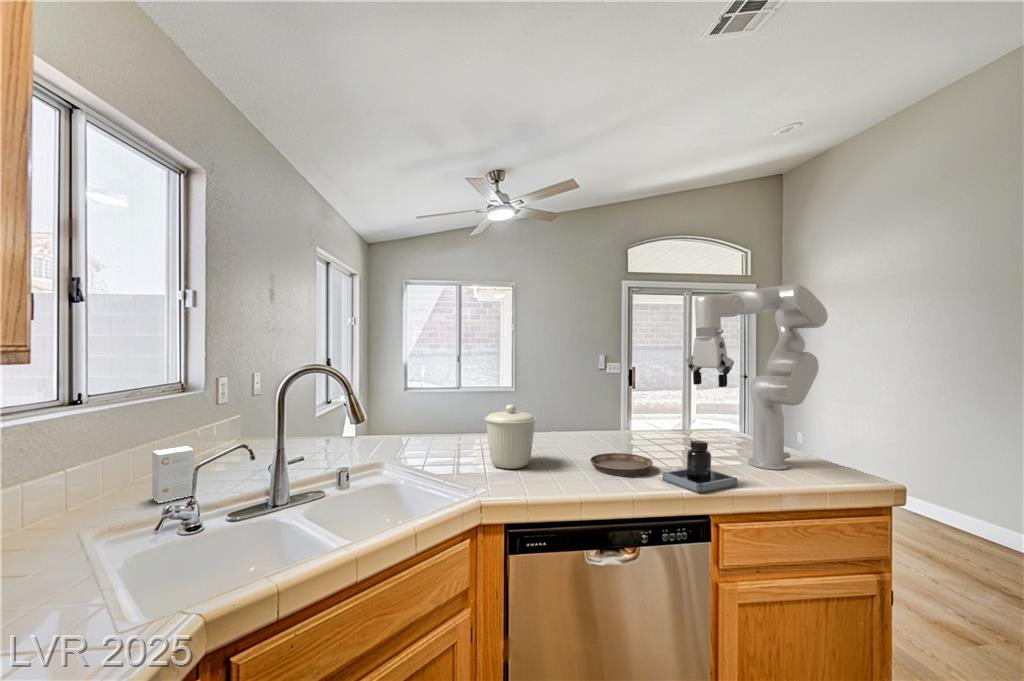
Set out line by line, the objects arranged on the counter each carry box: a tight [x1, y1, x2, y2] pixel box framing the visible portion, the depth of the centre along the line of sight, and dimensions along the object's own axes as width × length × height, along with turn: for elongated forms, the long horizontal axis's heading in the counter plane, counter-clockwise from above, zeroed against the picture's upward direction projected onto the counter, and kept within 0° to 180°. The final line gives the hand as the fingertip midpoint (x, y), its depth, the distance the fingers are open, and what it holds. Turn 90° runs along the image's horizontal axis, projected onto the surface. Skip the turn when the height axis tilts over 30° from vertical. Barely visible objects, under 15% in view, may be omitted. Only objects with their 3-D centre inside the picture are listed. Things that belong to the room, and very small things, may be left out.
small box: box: [151, 445, 195, 501], centre depth 123 cm, size 8×6×13 cm
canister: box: [484, 404, 538, 470], centre depth 158 cm, size 18×18×21 cm
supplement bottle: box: [686, 439, 712, 484], centre depth 140 cm, size 7×7×12 cm
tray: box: [662, 468, 738, 495], centre depth 139 cm, size 16×14×2 cm
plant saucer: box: [589, 452, 654, 476], centre depth 155 cm, size 21×21×3 cm
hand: (709, 385), depth 149 cm, fingers open, 9 cm apart
